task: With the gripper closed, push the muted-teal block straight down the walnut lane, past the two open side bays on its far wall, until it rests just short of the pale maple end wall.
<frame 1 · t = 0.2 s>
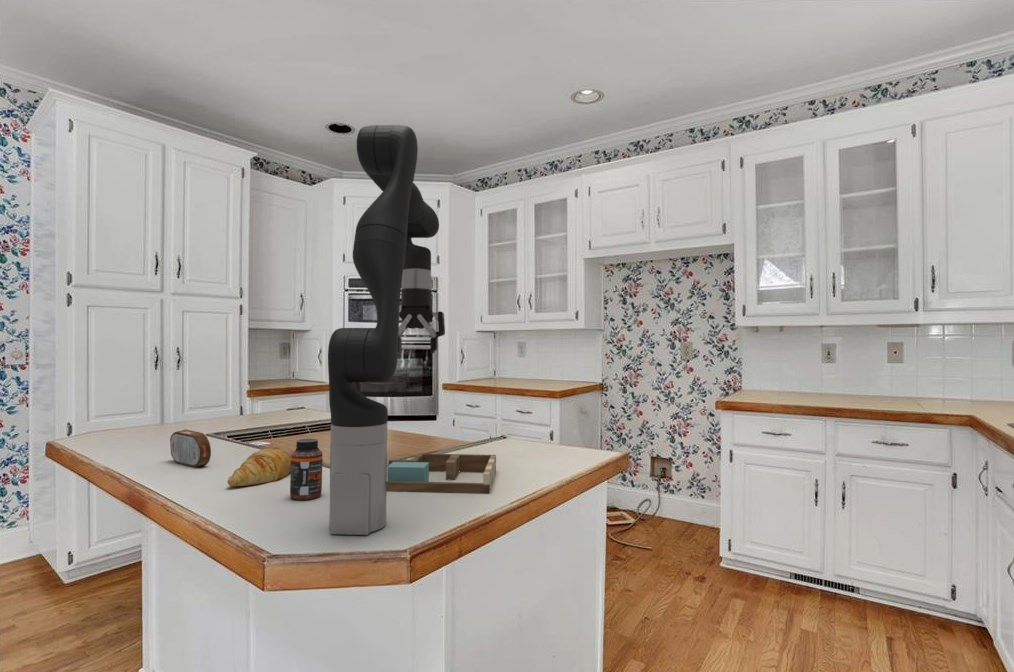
hand: (415, 352, 133), 28 cm above the table, tool pointing down, fingers open, 8 cm apart
block: (408, 485, 116), on the table
tin: (189, 465, 133), on the table
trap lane: (435, 484, 116), on the table
croissant: (263, 479, 121), on the table
supplement bottle: (306, 497, 106), on the table
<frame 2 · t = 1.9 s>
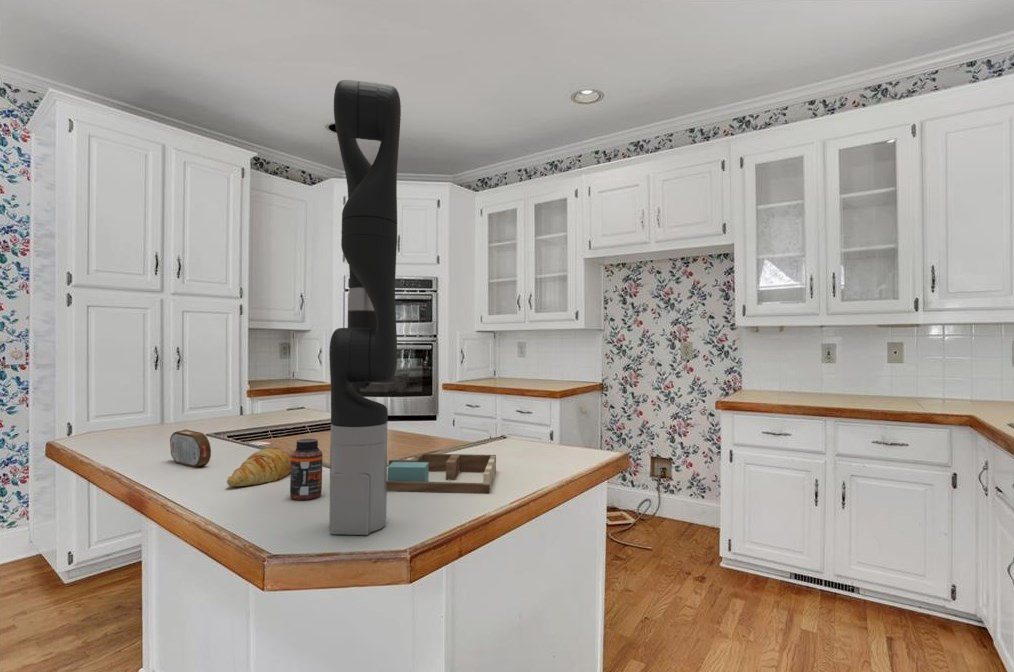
hand: (364, 388, 117), 21 cm above the table, tool pointing down, fingers closed
nothing on the table moved.
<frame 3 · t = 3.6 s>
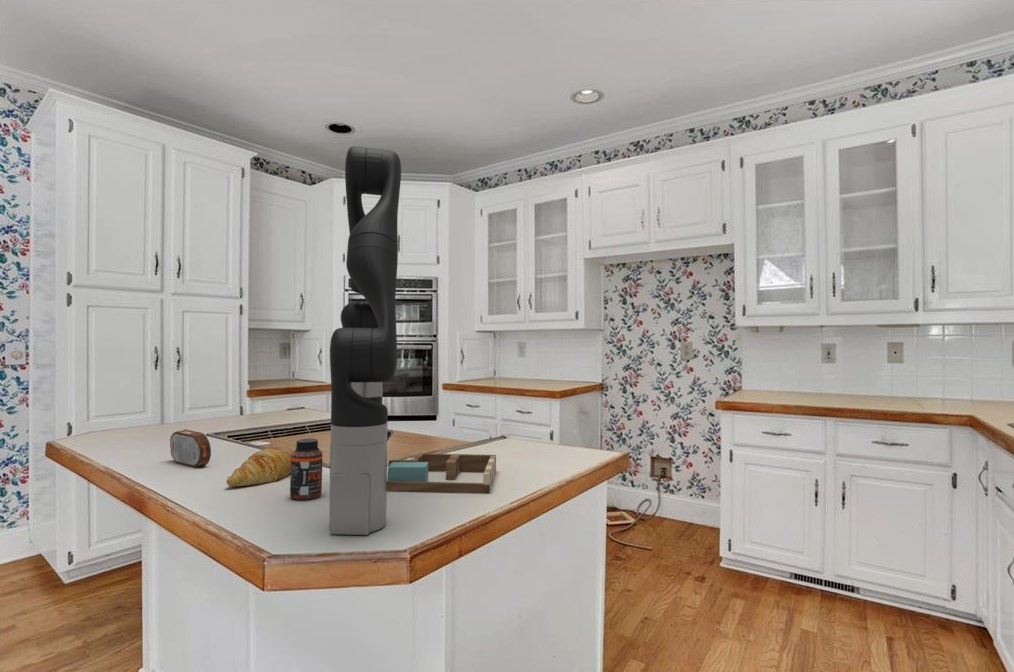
hand: (363, 472, 117), 2 cm above the table, tool pointing down, fingers closed
nothing on the table moved.
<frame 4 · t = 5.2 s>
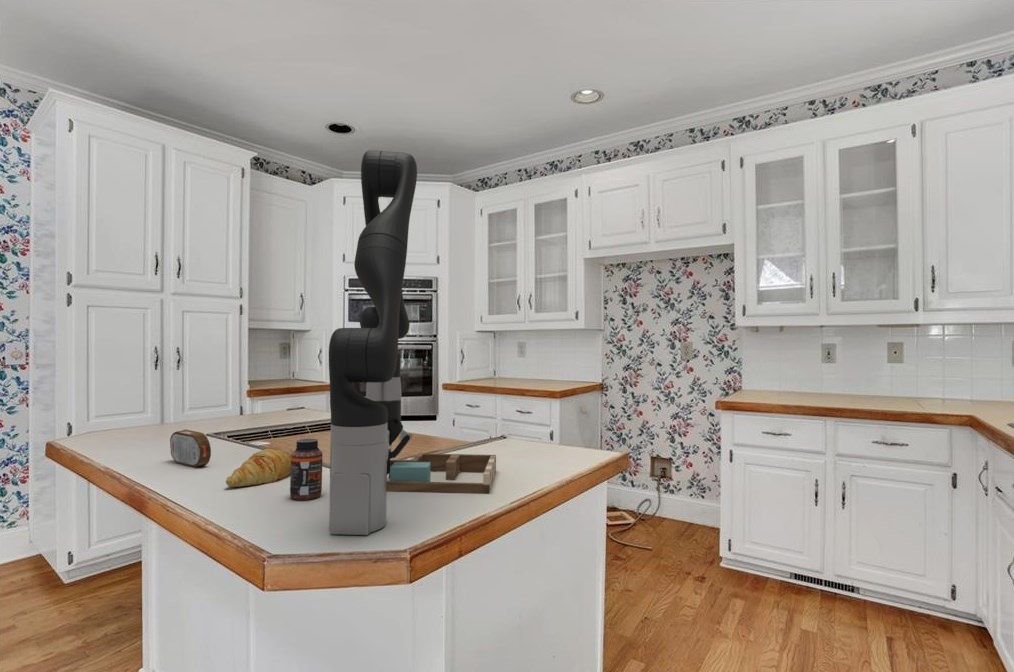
hand: (382, 476, 116), 2 cm above the table, tool pointing down, fingers closed
nothing on the table moved.
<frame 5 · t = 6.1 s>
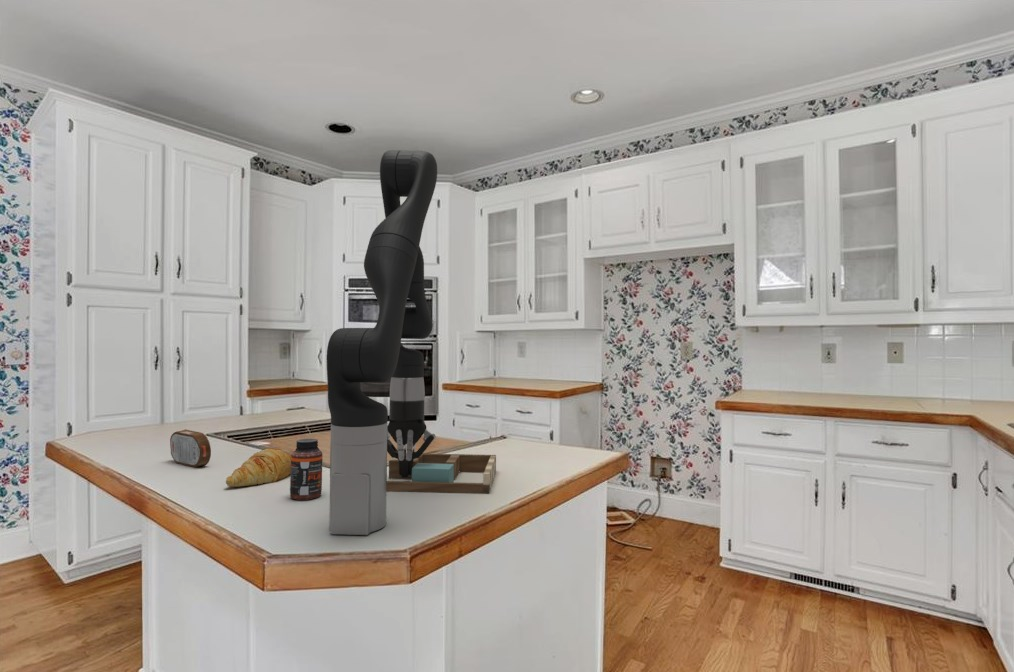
hand: (406, 477, 116), 2 cm above the table, tool pointing down, fingers closed
block: (433, 487, 115), on the table, touching gripper
everything else where it was.
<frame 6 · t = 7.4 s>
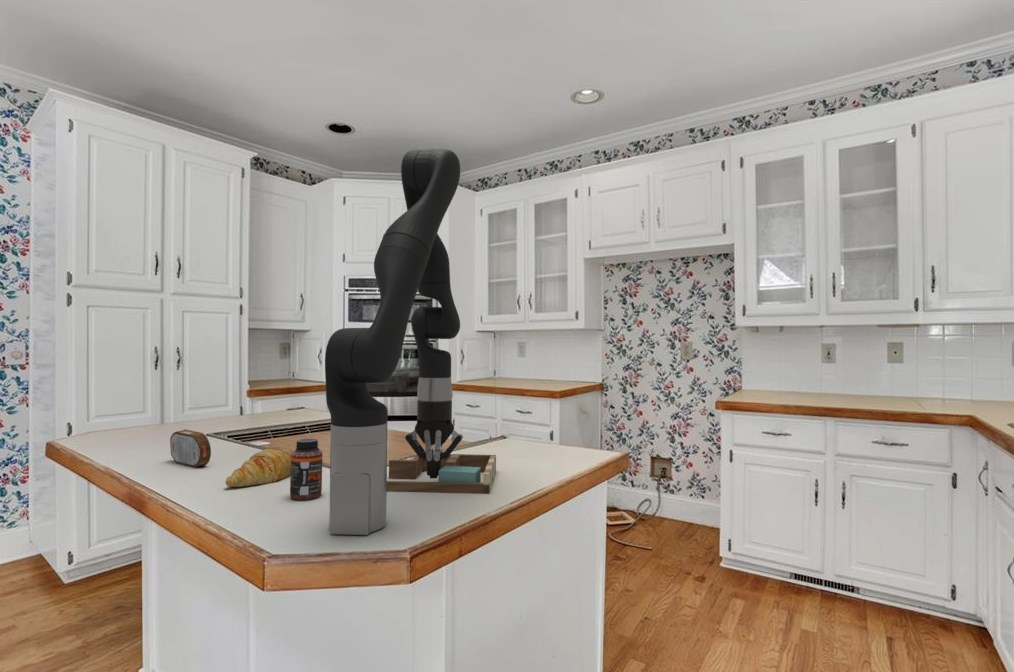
hand: (433, 477, 116), 2 cm above the table, tool pointing down, fingers closed
block: (459, 490, 114), on the table
everything else where it was.
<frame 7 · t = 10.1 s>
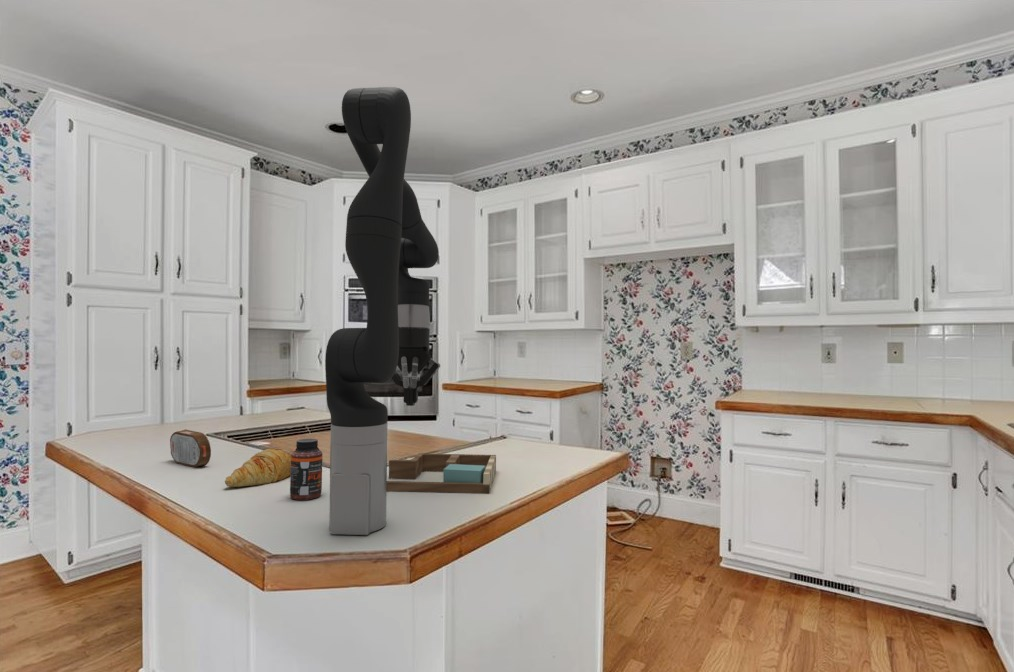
hand: (410, 405, 116), 17 cm above the table, tool pointing down, fingers closed
block: (464, 488, 114), on the table
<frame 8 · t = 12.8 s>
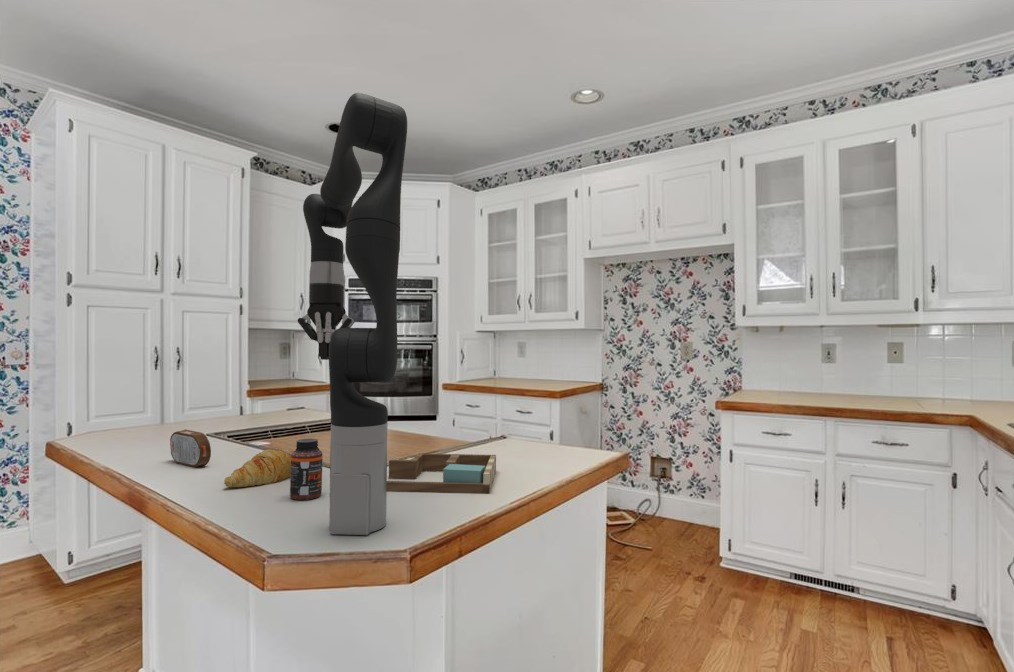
hand: (325, 359, 120), 27 cm above the table, tool pointing down, fingers closed
at the end: block inside the target area (1.5 cm from its centre), on the table; block tilted 0° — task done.
